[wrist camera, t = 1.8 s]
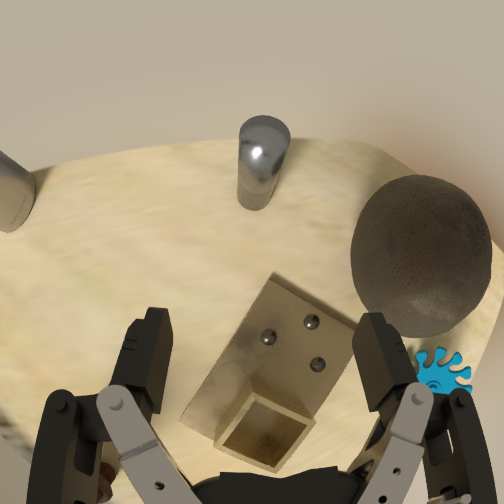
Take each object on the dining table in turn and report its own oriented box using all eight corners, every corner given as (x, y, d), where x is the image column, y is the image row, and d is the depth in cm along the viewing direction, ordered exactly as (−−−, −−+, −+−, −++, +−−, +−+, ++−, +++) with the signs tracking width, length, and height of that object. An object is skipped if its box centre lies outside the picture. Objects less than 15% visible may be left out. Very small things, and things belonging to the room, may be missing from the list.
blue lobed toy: (399, 345, 27) (481, 352, 21) (408, 334, 32) (478, 339, 25) (383, 428, 27) (456, 439, 20) (395, 408, 31) (459, 416, 25)
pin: (230, 199, 30) (229, 141, 19) (248, 174, 31) (256, 108, 19) (259, 216, 30) (274, 165, 18) (276, 190, 31) (299, 130, 19)
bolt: (83, 449, 24) (21, 505, 9) (116, 455, 24) (62, 522, 10) (96, 483, 23) (47, 543, 8) (128, 488, 24) (88, 559, 9)
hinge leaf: (179, 418, 26) (170, 439, 21) (268, 279, 29) (275, 275, 24) (273, 463, 26) (280, 488, 20) (360, 335, 29) (383, 340, 24)
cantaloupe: (438, 244, 31) (524, 215, 17) (402, 348, 29) (494, 367, 14) (352, 187, 32) (420, 118, 17) (302, 297, 29) (366, 293, 14)
